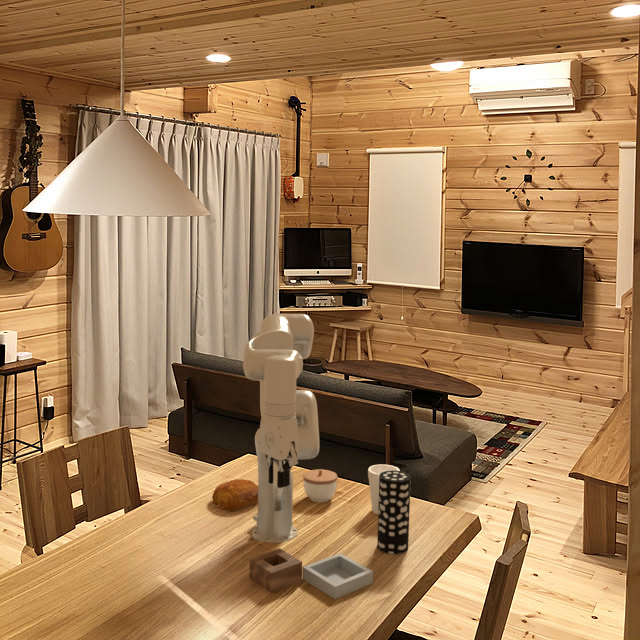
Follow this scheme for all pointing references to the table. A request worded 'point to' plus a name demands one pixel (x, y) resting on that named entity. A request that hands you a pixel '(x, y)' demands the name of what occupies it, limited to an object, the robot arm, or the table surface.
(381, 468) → the foam cup
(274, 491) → the steel pin
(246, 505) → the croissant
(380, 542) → the spotted tube
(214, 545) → the table surface
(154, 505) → the table surface
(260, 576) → the socket block
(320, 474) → the lidded jar
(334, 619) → the table surface
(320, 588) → the tray
